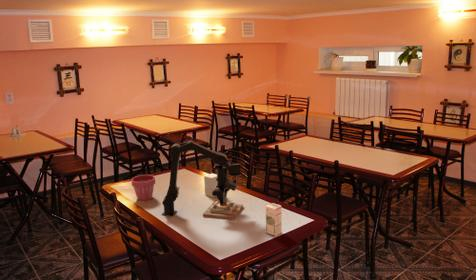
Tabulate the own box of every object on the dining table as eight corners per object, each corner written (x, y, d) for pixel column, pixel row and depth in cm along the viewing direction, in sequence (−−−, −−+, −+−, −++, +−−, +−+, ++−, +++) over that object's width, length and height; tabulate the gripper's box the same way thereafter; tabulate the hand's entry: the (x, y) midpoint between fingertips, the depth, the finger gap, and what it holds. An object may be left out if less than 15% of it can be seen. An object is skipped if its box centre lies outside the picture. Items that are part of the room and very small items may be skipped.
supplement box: (221, 194, 269) (220, 175, 266) (212, 197, 264) (211, 178, 261) (213, 191, 274) (212, 173, 271) (204, 195, 269) (203, 175, 266)
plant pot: (140, 203, 257) (138, 183, 254) (128, 197, 267) (127, 178, 264) (160, 197, 266) (159, 178, 263) (149, 192, 276) (147, 173, 273)
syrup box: (282, 232, 213) (282, 205, 210) (274, 236, 209) (274, 208, 205) (272, 229, 217) (272, 202, 213) (265, 233, 212) (265, 205, 209)
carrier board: (234, 219, 230) (234, 213, 230) (202, 216, 235) (202, 210, 234) (243, 207, 247) (243, 201, 246) (213, 204, 252) (213, 199, 251)
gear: (228, 210, 236) (227, 199, 234) (213, 209, 238) (213, 198, 236) (232, 205, 243) (232, 194, 242) (218, 203, 246) (218, 193, 244)
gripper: (231, 182, 226) (232, 210, 229) (240, 172, 243) (241, 198, 247) (211, 181, 229) (212, 208, 232) (222, 171, 246) (222, 196, 250)
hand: (223, 202), depth 240 cm, fingers closed on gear, 4 cm apart
